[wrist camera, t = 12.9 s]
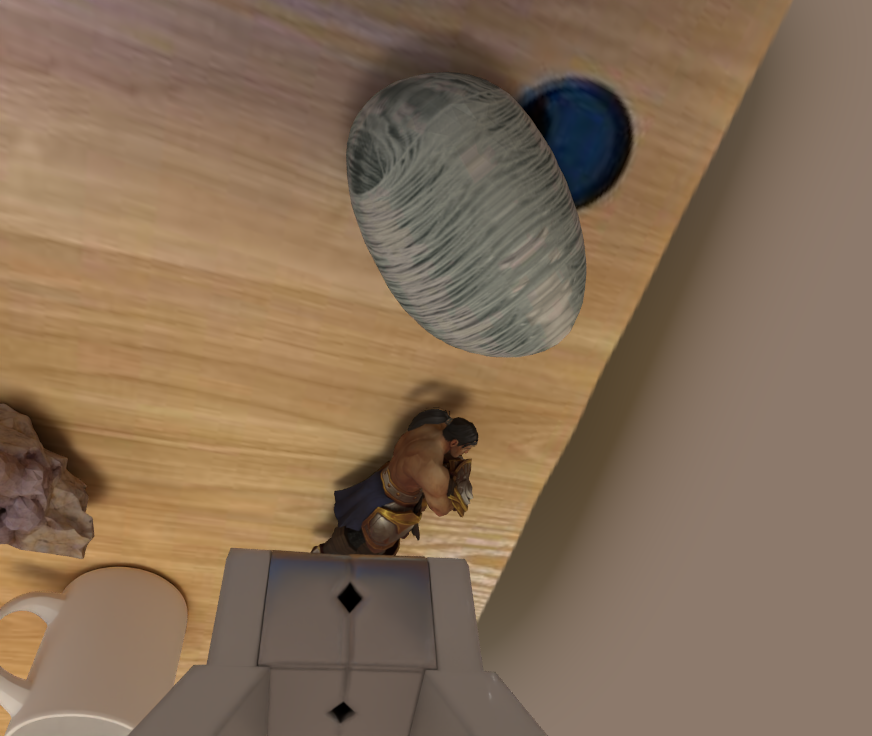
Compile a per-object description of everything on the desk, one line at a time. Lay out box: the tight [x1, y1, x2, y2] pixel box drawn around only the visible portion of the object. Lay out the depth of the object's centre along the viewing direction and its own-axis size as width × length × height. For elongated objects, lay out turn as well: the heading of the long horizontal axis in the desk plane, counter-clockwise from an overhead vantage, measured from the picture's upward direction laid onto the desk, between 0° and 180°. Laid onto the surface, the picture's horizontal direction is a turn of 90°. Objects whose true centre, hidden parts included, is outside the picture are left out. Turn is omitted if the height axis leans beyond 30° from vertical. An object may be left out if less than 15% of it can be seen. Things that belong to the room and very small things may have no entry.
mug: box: [0, 567, 188, 736], centre depth 49 cm, size 9×12×11 cm
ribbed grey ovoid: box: [346, 72, 586, 357], centre depth 35 cm, size 14×10×10 cm
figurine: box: [311, 407, 478, 556], centre depth 46 cm, size 7×6×15 cm
